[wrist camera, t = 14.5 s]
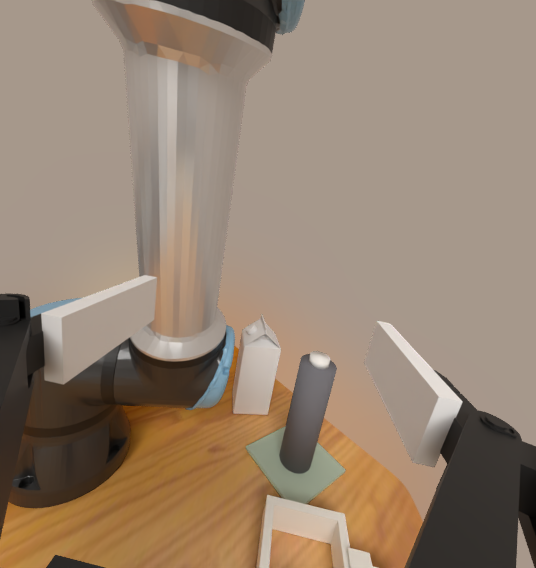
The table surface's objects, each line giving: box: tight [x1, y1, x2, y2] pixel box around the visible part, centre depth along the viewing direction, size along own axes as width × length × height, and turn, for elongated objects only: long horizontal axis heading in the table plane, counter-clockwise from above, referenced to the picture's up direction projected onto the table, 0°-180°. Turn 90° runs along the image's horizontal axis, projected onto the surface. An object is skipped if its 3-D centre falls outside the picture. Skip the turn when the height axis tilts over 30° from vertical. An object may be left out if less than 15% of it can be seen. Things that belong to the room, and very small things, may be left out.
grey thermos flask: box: [279, 351, 337, 474], centre depth 41 cm, size 5×5×19 cm
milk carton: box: [232, 314, 281, 415], centre depth 53 cm, size 7×7×19 cm
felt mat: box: [246, 426, 346, 504], centre depth 44 cm, size 12×12×1 cm
